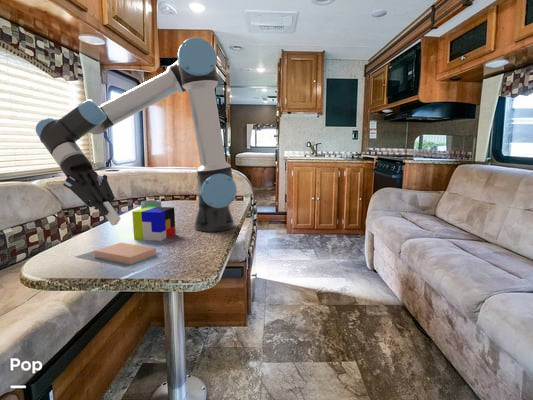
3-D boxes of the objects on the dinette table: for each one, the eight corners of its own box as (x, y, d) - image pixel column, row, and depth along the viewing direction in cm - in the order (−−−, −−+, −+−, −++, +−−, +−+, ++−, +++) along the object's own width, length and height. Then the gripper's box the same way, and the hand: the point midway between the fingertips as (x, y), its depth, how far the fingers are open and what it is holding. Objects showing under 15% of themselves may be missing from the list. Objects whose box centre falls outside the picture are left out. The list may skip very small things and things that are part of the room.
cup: (142, 224, 135) (141, 200, 134) (162, 223, 138) (161, 199, 136) (141, 229, 128) (140, 203, 126) (162, 227, 130) (161, 202, 129)
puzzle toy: (161, 242, 109) (159, 212, 108) (134, 240, 111) (132, 211, 110) (175, 234, 119) (174, 207, 118) (150, 233, 121) (148, 206, 120)
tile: (94, 250, 92) (130, 257, 86) (121, 242, 100) (155, 248, 94) (94, 257, 92) (130, 264, 86) (121, 248, 100) (156, 255, 94)
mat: (74, 258, 93) (74, 256, 93) (114, 246, 104) (114, 244, 104) (125, 269, 84) (125, 267, 84) (162, 254, 96) (162, 253, 96)
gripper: (88, 169, 105) (129, 225, 100) (45, 171, 93) (89, 235, 89) (98, 152, 102) (140, 209, 97) (55, 152, 90) (101, 217, 85)
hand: (116, 222), depth 93 cm, fingers closed
